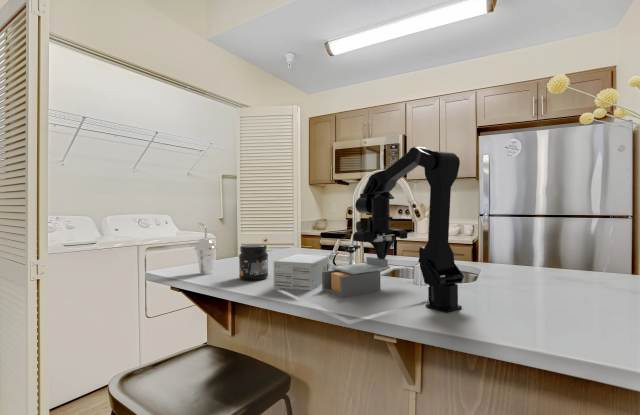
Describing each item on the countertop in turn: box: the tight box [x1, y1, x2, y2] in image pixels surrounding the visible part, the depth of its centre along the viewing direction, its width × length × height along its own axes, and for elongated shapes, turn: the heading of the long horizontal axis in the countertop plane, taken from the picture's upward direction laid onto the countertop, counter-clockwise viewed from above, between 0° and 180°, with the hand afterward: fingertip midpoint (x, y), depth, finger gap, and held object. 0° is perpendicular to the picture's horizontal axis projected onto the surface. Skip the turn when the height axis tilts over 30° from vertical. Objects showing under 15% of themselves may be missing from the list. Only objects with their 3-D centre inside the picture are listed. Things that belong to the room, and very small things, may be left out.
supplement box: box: [273, 253, 330, 291], centre depth 111 cm, size 17×13×9 cm
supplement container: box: [238, 243, 269, 282], centre depth 123 cm, size 10×10×12 cm
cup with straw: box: [193, 222, 217, 275], centre depth 133 cm, size 8×9×20 cm
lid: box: [332, 256, 391, 274], centre depth 103 cm, size 10×14×3 cm
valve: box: [341, 244, 361, 265], centre depth 120 cm, size 7×7×12 cm
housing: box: [321, 269, 382, 299], centre depth 101 cm, size 10×14×6 cm
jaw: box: [331, 271, 352, 293], centre depth 99 cm, size 4×4×6 cm
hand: (381, 262), depth 108 cm, fingers closed
